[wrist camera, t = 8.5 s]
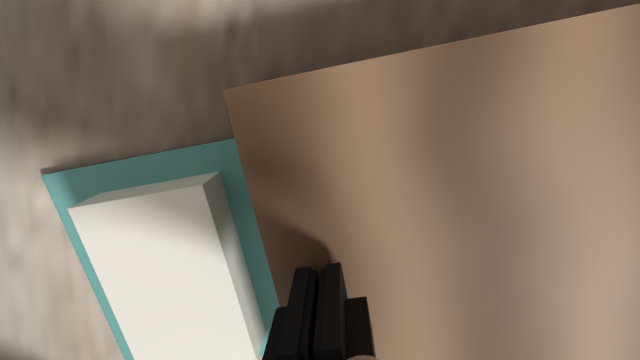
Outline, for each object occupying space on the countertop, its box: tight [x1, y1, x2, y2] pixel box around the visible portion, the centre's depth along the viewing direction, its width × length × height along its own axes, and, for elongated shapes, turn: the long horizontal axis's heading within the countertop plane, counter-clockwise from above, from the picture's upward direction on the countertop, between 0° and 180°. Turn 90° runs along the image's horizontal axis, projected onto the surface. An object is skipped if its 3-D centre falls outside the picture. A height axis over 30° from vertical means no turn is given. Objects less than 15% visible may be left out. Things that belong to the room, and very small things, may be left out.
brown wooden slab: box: [222, 3, 640, 360], centre depth 13 cm, size 16×15×4 cm
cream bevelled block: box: [68, 172, 265, 360], centre depth 16 cm, size 6×9×2 cm, turn 11°
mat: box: [41, 138, 280, 360], centre depth 17 cm, size 11×12×1 cm
